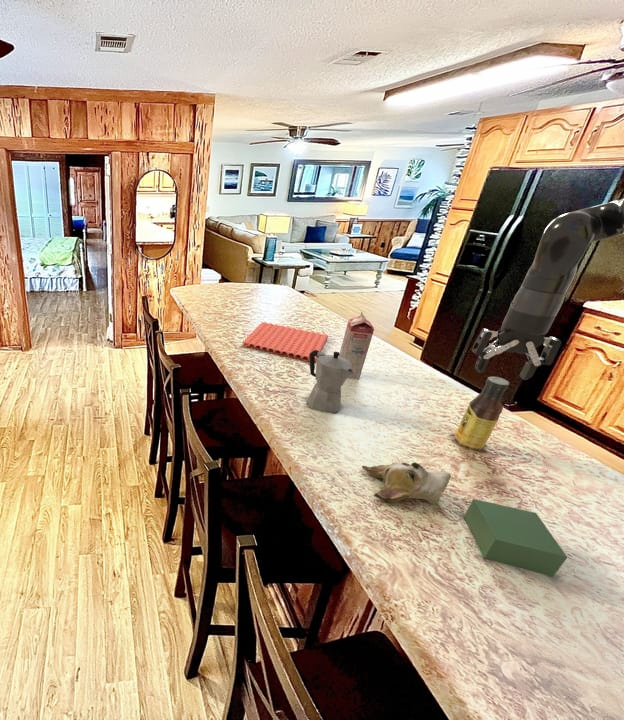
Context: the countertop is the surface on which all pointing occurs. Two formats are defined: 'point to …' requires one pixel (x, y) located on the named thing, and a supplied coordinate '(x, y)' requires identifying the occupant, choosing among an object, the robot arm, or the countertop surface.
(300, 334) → the red corrugated roof tile
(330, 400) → the coffeepot
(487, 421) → the sauce bottle
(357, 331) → the juice carton
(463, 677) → the countertop surface
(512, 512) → the green block
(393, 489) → the ceramic sculpture
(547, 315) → the robot arm
